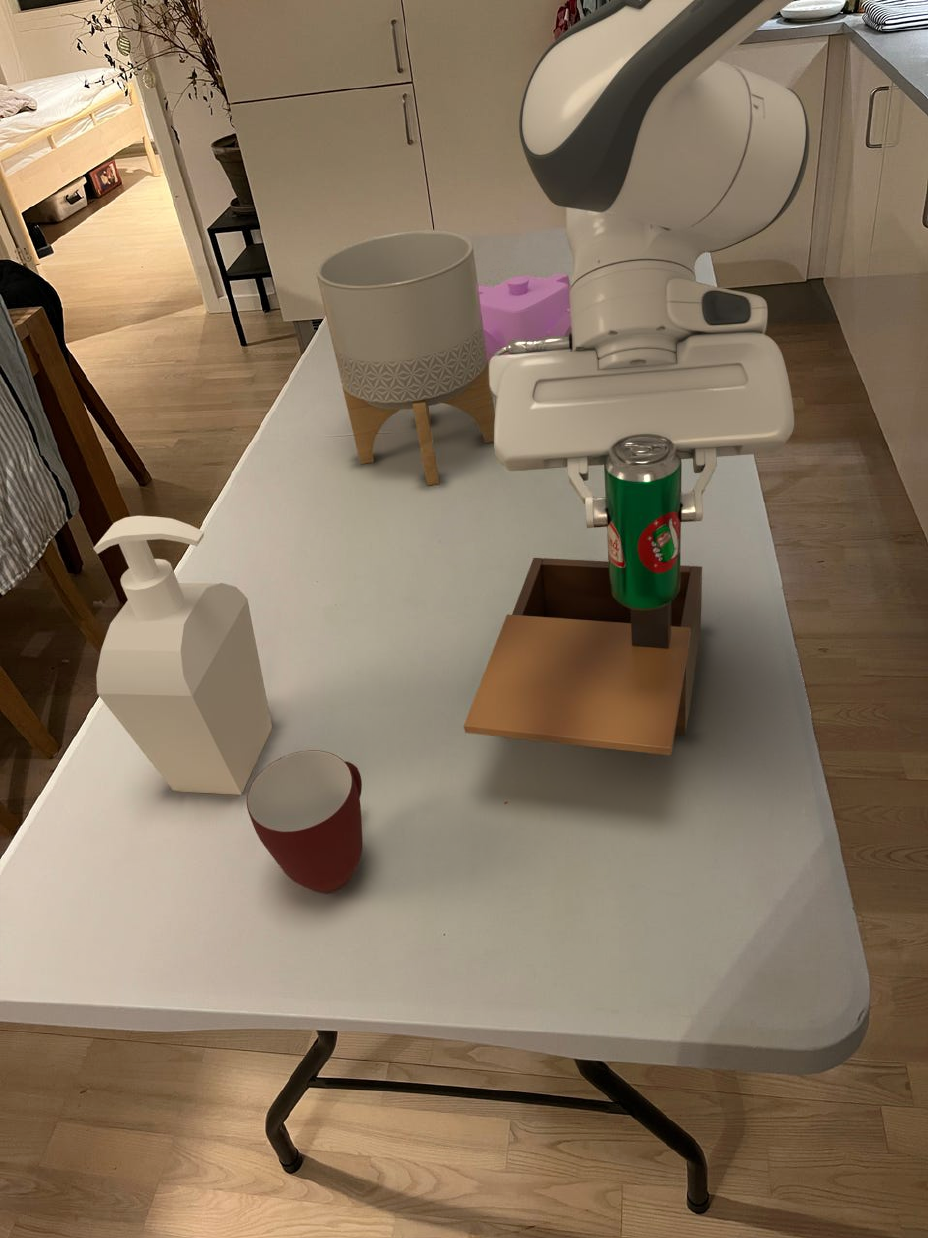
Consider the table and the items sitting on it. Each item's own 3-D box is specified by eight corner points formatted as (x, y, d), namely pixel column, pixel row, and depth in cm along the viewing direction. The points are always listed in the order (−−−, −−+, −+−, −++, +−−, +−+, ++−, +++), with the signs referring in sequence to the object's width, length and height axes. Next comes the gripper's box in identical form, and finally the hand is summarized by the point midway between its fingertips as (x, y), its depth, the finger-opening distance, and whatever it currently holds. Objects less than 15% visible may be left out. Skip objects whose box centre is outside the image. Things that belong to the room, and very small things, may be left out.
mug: (314, 804, 84) (285, 722, 77) (401, 815, 81) (379, 731, 75) (263, 907, 76) (227, 825, 70) (358, 923, 73) (329, 840, 67)
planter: (359, 429, 138) (318, 245, 122) (490, 407, 138) (465, 220, 122) (360, 497, 123) (313, 297, 107) (506, 472, 123) (480, 268, 107)
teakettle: (573, 329, 155) (568, 251, 148) (587, 373, 142) (582, 290, 134) (469, 344, 156) (458, 268, 149) (473, 390, 143) (461, 308, 135)
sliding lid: (690, 634, 81) (691, 579, 78) (671, 755, 71) (670, 699, 68) (507, 621, 86) (500, 568, 83) (464, 732, 76) (454, 678, 72)
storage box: (700, 632, 94) (702, 566, 89) (685, 735, 84) (686, 667, 79) (540, 620, 99) (533, 557, 94) (507, 717, 89) (497, 651, 84)
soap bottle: (261, 814, 83) (162, 573, 67) (155, 808, 86) (36, 574, 70) (304, 713, 93) (226, 481, 77) (208, 710, 95) (113, 484, 79)
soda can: (610, 573, 73) (604, 432, 66) (678, 571, 72) (680, 428, 65) (609, 615, 69) (602, 470, 62) (681, 614, 68) (683, 467, 61)
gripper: (481, 324, 66) (488, 523, 65) (791, 296, 63) (805, 503, 62) (492, 358, 72) (499, 540, 71) (775, 333, 69) (788, 523, 68)
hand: (644, 523), depth 66 cm, fingers closed on soda can, 5 cm apart
